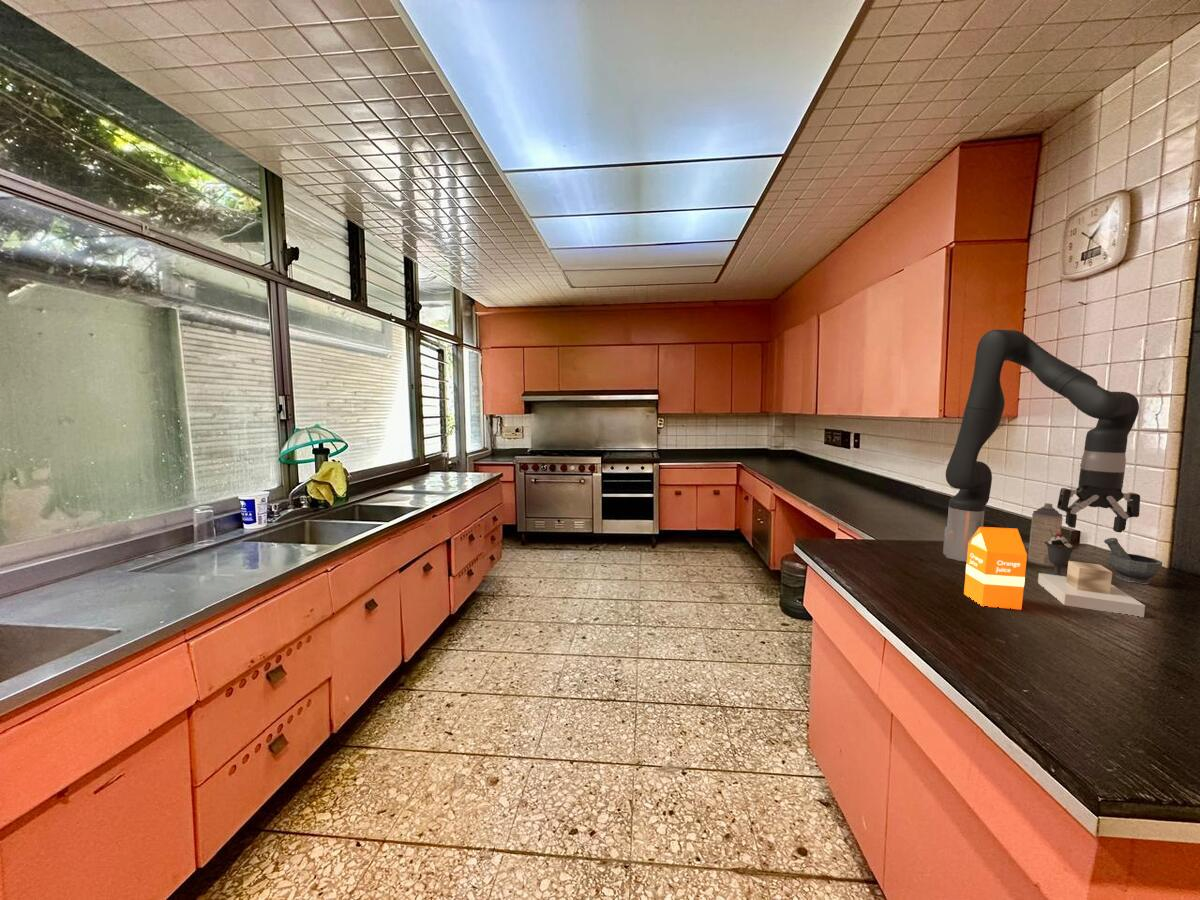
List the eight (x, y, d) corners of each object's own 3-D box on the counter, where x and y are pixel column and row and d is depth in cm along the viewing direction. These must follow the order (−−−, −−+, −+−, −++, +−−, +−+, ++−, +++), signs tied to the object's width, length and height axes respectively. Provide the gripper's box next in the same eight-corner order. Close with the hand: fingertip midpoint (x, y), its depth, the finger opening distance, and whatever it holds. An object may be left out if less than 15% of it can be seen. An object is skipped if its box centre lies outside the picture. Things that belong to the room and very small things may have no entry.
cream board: (1064, 605, 111) (1065, 593, 111) (1037, 582, 125) (1038, 572, 125) (1143, 617, 105) (1145, 605, 105) (1106, 592, 119) (1107, 582, 119)
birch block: (1077, 589, 114) (1079, 567, 113) (1066, 581, 119) (1068, 560, 118) (1109, 594, 111) (1112, 572, 110) (1097, 586, 116) (1099, 564, 115)
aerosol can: (1063, 566, 138) (1069, 505, 137) (1047, 568, 137) (1053, 506, 135) (1037, 559, 145) (1043, 501, 143) (1022, 560, 144) (1028, 502, 142)
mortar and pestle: (1154, 580, 127) (1160, 541, 126) (1163, 590, 121) (1169, 548, 119) (1097, 570, 135) (1101, 533, 134) (1102, 579, 128) (1107, 540, 127)
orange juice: (1022, 609, 109) (1030, 533, 107) (982, 606, 111) (989, 530, 109) (1000, 596, 117) (1007, 524, 115) (963, 593, 118) (969, 522, 116)
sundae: (1057, 572, 133) (1063, 525, 132) (1079, 581, 126) (1085, 531, 125) (1034, 572, 134) (1039, 525, 132) (1055, 580, 127) (1060, 531, 126)
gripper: (1071, 468, 112) (1063, 529, 113) (1152, 473, 105) (1142, 537, 107) (1057, 465, 118) (1050, 522, 120) (1133, 468, 111) (1124, 529, 113)
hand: (1094, 529), depth 113 cm, fingers open, 8 cm apart
